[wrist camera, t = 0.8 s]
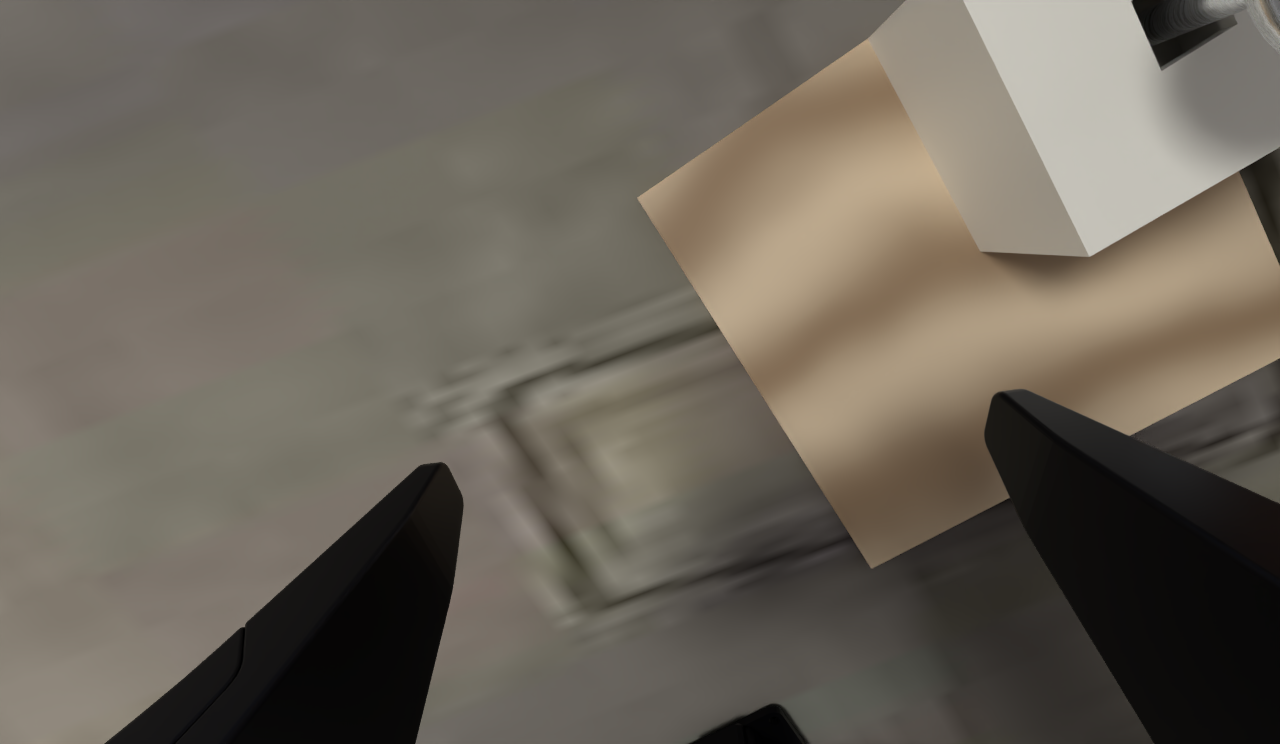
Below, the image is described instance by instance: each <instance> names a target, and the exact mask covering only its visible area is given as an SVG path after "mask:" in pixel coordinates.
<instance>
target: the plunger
mask: <svg viewBox="0 0 1280 744" xmlns="http://www.w3.org/2000/svg"><path fill="white" fill-rule="evenodd" d="M1246 9H1247V10H1248V13H1249V15H1250V17H1251V19H1252V21H1253V23H1254V25H1255V27H1256V28H1257V30H1258V31H1259V32H1260V34H1261V35H1262V36H1263V38H1264V39H1265V41H1266V42H1267V43H1268V44H1269V45H1271V46H1272V47H1273V48H1274V49H1275V50H1276V51H1277V52H1278V53H1279V54H1280V0H1164V1H1162V2H1160V3H1158V4H1156V5H1154V6H1152V7H1149V8H1147V9H1145V10H1144V11H1142V12H1141V13H1139V14H1138V15H1137V16H1138V19H1139V21H1140V23H1141V25H1142V28H1143V30H1144V32H1145V35H1146V37H1147V39H1148V41H1149V44H1150V46H1154V45H1157V44H1159V43H1162V42H1164V41H1167V40H1169V39H1172V38H1175V37H1177V36H1180V35H1182V34H1185V33H1187V32H1190V31H1192V30H1195V29H1197V28H1200V27H1202V26H1205V25H1208V24H1210V23H1213V22H1215V21H1218V20H1220V19H1223V18H1225V17H1228V16H1230V15H1233V14H1235V13H1238V12H1240V11H1243V10H1246Z"/></svg>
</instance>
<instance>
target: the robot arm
mask: <svg viewBox="0 0 1280 744" xmlns="http://www.w3.org/2000/svg"><path fill="white" fill-rule="evenodd" d="M984 439H985V443H986V446H987V449H988V451H989V453H990V455H991V457H992V460H993V462H994V464H995V466H996V468H997V471H998V473H999V475H1000V477H1001V479H1002V481H1003V484H1004V486H1005V488H1006V490H1007V492H1008V495H1009V497H1010V499H1011V501H1012V503H1013V505H1014V508H1015V510H1016V512H1017V514H1018V516H1019V518H1020V520H1021V522H1022V524H1023V526H1024V528H1025V530H1026V532H1027V534H1028V535H1029V537H1030V539H1031V541H1032V542H1033V544H1034V546H1035V547H1036V549H1037V551H1038V552H1039V554H1040V556H1041V557H1042V559H1043V561H1044V562H1045V564H1046V566H1047V567H1048V569H1049V571H1050V572H1051V574H1052V576H1053V577H1054V579H1055V580H1056V582H1057V584H1058V585H1059V587H1060V589H1061V590H1062V592H1063V594H1064V595H1065V597H1066V599H1067V600H1068V602H1069V604H1070V605H1071V607H1072V609H1073V610H1074V612H1075V613H1076V615H1077V617H1078V618H1079V620H1080V622H1081V623H1082V625H1083V627H1084V628H1085V630H1086V632H1087V633H1088V635H1089V637H1090V638H1091V640H1092V642H1093V643H1094V645H1095V646H1096V648H1097V650H1098V651H1099V653H1100V655H1101V656H1102V658H1103V660H1104V661H1105V663H1106V665H1107V666H1108V668H1109V670H1110V671H1111V673H1112V675H1113V676H1114V678H1115V679H1116V681H1117V683H1118V684H1119V686H1120V688H1121V689H1122V691H1123V693H1124V694H1125V696H1126V698H1127V699H1128V701H1129V703H1130V704H1131V706H1132V708H1133V709H1134V711H1135V712H1136V714H1137V716H1138V717H1139V719H1140V721H1141V722H1142V724H1143V726H1144V727H1145V729H1146V731H1147V732H1148V734H1149V736H1150V737H1151V739H1152V741H1153V742H1154V744H1280V504H1279V503H1277V502H1274V501H1272V500H1270V499H1268V498H1266V497H1263V496H1261V495H1259V494H1257V493H1255V492H1252V491H1250V490H1248V489H1246V488H1243V487H1241V486H1239V485H1237V484H1235V483H1232V482H1230V481H1228V480H1226V479H1224V478H1221V477H1219V476H1217V475H1215V474H1213V473H1210V472H1208V471H1206V470H1204V469H1201V468H1199V467H1197V466H1195V465H1193V464H1190V463H1188V462H1186V461H1184V460H1182V459H1179V458H1177V457H1175V456H1173V455H1170V454H1168V453H1166V452H1164V451H1162V450H1159V449H1157V448H1155V447H1153V446H1151V445H1148V444H1146V443H1144V442H1142V441H1139V440H1137V439H1135V438H1133V437H1131V436H1128V435H1126V434H1124V433H1122V432H1120V431H1117V430H1115V429H1113V428H1111V427H1108V426H1106V425H1104V424H1102V423H1100V422H1097V421H1095V420H1093V419H1091V418H1089V417H1086V416H1084V415H1082V414H1080V413H1078V412H1075V411H1073V410H1071V409H1069V408H1066V407H1064V406H1062V405H1060V404H1058V403H1055V402H1053V401H1051V400H1049V399H1047V398H1044V397H1042V396H1040V395H1038V394H1035V393H1033V392H1031V391H1029V390H1026V389H1013V390H1005V391H999V392H997V393H995V394H994V395H993V397H992V399H991V403H990V407H989V412H988V416H987V420H986V425H985V429H984ZM463 507H464V505H463V497H462V494H461V492H460V490H459V488H458V486H457V484H456V482H455V480H454V478H453V475H452V473H451V471H450V469H449V468H448V466H447V465H446V464H445V463H442V462H438V463H430V464H423V465H420V466H419V467H417V468H416V469H415V470H414V471H413V472H412V473H411V474H410V475H408V476H407V477H406V478H405V479H404V480H403V481H402V482H401V483H400V484H399V485H397V486H396V487H395V488H394V489H393V490H392V491H391V492H390V493H389V494H388V495H386V496H385V497H384V498H383V499H382V500H381V501H380V502H379V503H378V504H377V505H375V506H374V507H373V508H372V509H371V510H370V511H369V512H368V513H367V514H366V515H364V516H363V517H362V518H361V519H360V520H359V521H358V522H357V523H356V524H355V525H353V526H352V527H351V528H350V529H349V530H348V531H347V532H346V533H345V534H343V535H342V536H341V537H340V538H339V539H338V540H337V541H336V542H335V543H334V544H332V545H331V546H330V547H329V548H328V549H327V550H326V551H325V552H324V553H323V554H321V555H320V556H319V557H318V558H317V559H316V560H315V561H314V562H313V563H312V564H310V565H309V566H308V567H307V568H306V569H305V570H304V571H303V572H302V573H301V574H299V575H298V576H297V577H296V578H295V579H294V580H293V581H292V582H291V583H289V584H288V585H287V586H286V587H285V588H284V589H283V590H282V591H281V592H280V593H278V594H277V595H276V596H275V597H274V598H273V599H272V600H271V601H270V602H269V603H267V604H266V605H265V606H264V607H263V608H262V609H261V610H260V611H259V612H257V613H256V614H255V615H254V616H253V617H252V618H251V619H250V620H249V621H248V622H247V623H246V624H245V627H242V628H240V629H239V630H237V631H236V632H235V633H234V634H233V635H232V636H231V637H230V638H229V639H228V640H227V641H225V642H224V643H223V644H222V645H221V646H220V647H219V648H218V649H217V650H215V651H214V652H213V653H212V654H211V655H210V656H209V657H207V658H206V659H205V660H204V661H203V662H202V663H201V664H200V665H198V666H197V667H196V668H195V669H194V670H193V671H192V672H190V673H189V674H188V675H187V676H186V677H185V678H184V679H182V680H181V681H180V682H179V683H178V684H176V685H175V686H174V687H173V688H172V689H170V690H169V691H168V692H167V693H166V694H164V695H163V696H162V697H161V698H160V699H158V700H157V701H156V702H155V703H154V704H152V705H151V706H150V707H149V708H148V709H146V710H145V711H144V712H143V713H142V714H140V715H139V716H138V717H137V718H135V719H134V720H133V721H132V722H131V723H129V724H128V725H127V726H126V727H124V728H123V729H122V730H121V731H119V732H118V733H117V734H116V735H115V736H113V737H112V738H111V739H110V740H108V741H107V742H106V743H105V744H415V743H416V739H417V734H418V730H419V726H420V722H421V718H422V714H423V710H424V706H425V702H426V698H427V694H428V689H429V685H430V681H431V677H432V673H433V669H434V665H435V661H436V657H437V653H438V649H439V645H440V640H441V636H442V632H443V628H444V624H445V620H446V616H447V612H448V608H449V604H450V599H451V595H452V590H453V584H454V578H455V570H456V562H457V555H458V547H459V539H460V531H461V524H462V516H463ZM771 717H776V718H774V719H772V718H771ZM692 744H805V742H804V741H803V739H802V738H801V737H800V735H799V734H798V732H797V731H796V729H795V728H794V727H793V725H792V724H791V722H790V721H789V719H788V718H787V717H786V715H785V714H784V712H783V711H782V710H781V709H780V708H779V707H777V706H769V707H766V708H764V709H762V710H760V711H758V712H756V713H754V714H752V715H750V716H748V717H746V718H744V719H742V720H740V721H738V722H735V723H733V724H731V725H729V726H727V727H725V728H723V729H721V730H719V731H717V732H715V733H713V734H711V735H709V736H707V737H705V738H703V739H701V740H699V741H697V742H694V743H692Z"/></svg>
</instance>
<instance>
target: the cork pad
mask: <svg viewBox="0 0 1280 744" xmlns="http://www.w3.org/2000/svg"><path fill="white" fill-rule="evenodd" d="M637 199H638V200H639V202H640V203H641V205H642V206H643V208H644V210H645V211H646V213H647V214H648V216H649V218H650V219H651V221H652V222H653V224H654V225H655V227H656V229H657V230H658V232H659V233H660V235H661V237H662V238H663V240H664V241H665V243H666V244H667V246H668V248H669V249H670V251H671V252H672V254H673V256H674V257H675V259H676V260H677V262H678V263H679V265H680V267H681V268H682V270H683V271H684V273H685V275H686V276H687V278H688V279H689V281H690V282H691V284H692V286H693V287H694V289H695V290H696V292H697V294H698V295H699V297H700V298H701V300H702V301H703V303H704V305H705V306H706V308H707V309H708V311H709V313H710V314H711V316H712V317H713V319H714V320H715V322H716V324H717V325H718V327H719V328H720V330H721V332H722V333H723V335H724V336H725V338H726V339H727V341H728V343H729V344H730V346H731V347H732V349H733V351H734V352H735V354H736V355H737V357H738V358H739V360H740V362H741V363H742V365H743V366H744V368H745V370H746V371H747V373H748V374H749V376H750V377H751V379H752V381H753V382H754V384H755V385H756V387H757V389H758V390H759V392H760V393H761V395H762V396H763V398H764V400H765V401H766V403H767V404H768V406H769V408H770V409H771V411H772V412H773V414H774V415H775V417H776V419H777V420H778V422H779V423H780V425H781V426H782V428H783V430H784V431H785V433H786V434H787V436H788V438H789V439H790V441H791V442H792V444H793V445H794V447H795V449H796V450H797V452H798V453H799V455H800V457H801V458H802V460H803V461H804V463H805V464H806V466H807V468H808V469H809V471H810V472H811V474H812V476H813V477H814V479H815V480H816V482H817V483H818V485H819V487H820V488H821V490H822V491H823V493H824V495H825V496H826V498H827V499H828V501H829V502H830V504H831V506H832V507H833V509H834V510H835V512H836V514H837V515H838V517H839V518H840V520H841V521H842V523H843V525H844V526H845V528H846V529H847V531H848V533H849V534H850V536H851V537H852V539H853V540H854V542H855V544H856V545H857V547H858V548H859V550H860V552H861V553H862V555H863V556H864V558H865V559H866V561H867V563H868V564H869V566H870V567H871V569H873V568H874V567H876V566H878V565H880V564H882V563H884V562H886V561H888V560H890V559H892V558H894V557H896V556H898V555H900V554H902V553H904V552H905V551H907V550H909V549H911V548H913V547H915V546H917V545H919V544H921V543H923V542H925V541H927V540H929V539H931V538H933V537H934V536H936V535H938V534H940V533H942V532H944V531H946V530H948V529H950V528H952V527H954V526H956V525H958V524H960V523H962V522H964V521H965V520H967V519H969V518H971V517H973V516H975V515H977V514H979V513H981V512H983V511H985V510H987V509H989V508H991V507H993V506H995V505H996V504H998V503H1000V502H1002V501H1004V500H1006V499H1008V498H1010V497H1009V495H1008V492H1007V490H1006V488H1005V486H1004V484H1003V481H1002V479H1001V477H1000V475H999V473H998V471H997V468H996V466H995V464H994V462H993V460H992V457H991V455H990V453H989V451H988V449H987V446H986V443H985V439H984V429H985V425H986V420H987V416H988V412H989V407H990V403H991V399H992V397H993V395H994V394H995V393H997V392H999V391H1005V390H1013V389H1026V390H1029V391H1031V392H1033V393H1035V394H1038V395H1040V396H1042V397H1044V398H1047V399H1049V400H1051V401H1053V402H1055V403H1058V404H1060V405H1062V406H1064V407H1066V408H1069V409H1071V410H1073V411H1075V412H1078V413H1080V414H1082V415H1084V416H1086V417H1089V418H1091V419H1093V420H1095V421H1097V422H1100V423H1102V424H1104V425H1106V426H1108V427H1111V428H1113V429H1115V430H1117V431H1120V432H1122V433H1124V434H1126V435H1128V436H1130V435H1132V434H1134V433H1136V432H1138V431H1140V430H1142V429H1144V428H1146V427H1147V426H1149V425H1151V424H1153V423H1155V422H1157V421H1159V420H1161V419H1163V418H1165V417H1167V416H1169V415H1171V414H1173V413H1175V412H1177V411H1178V410H1180V409H1182V408H1184V407H1186V406H1188V405H1190V404H1192V403H1194V402H1196V401H1198V400H1200V399H1202V398H1204V397H1206V396H1208V395H1209V394H1211V393H1213V392H1215V391H1217V390H1219V389H1221V388H1223V387H1225V386H1227V385H1229V384H1231V383H1233V382H1235V381H1237V380H1238V379H1240V378H1242V377H1244V376H1246V375H1248V374H1250V373H1252V372H1254V371H1256V370H1258V369H1260V368H1262V367H1264V366H1266V365H1268V364H1269V363H1271V362H1273V361H1275V360H1277V359H1279V358H1280V266H1279V263H1278V261H1277V259H1276V256H1275V254H1274V252H1273V249H1272V247H1271V245H1270V243H1269V240H1268V238H1267V236H1266V233H1265V231H1264V229H1263V226H1262V224H1261V222H1260V219H1259V217H1258V215H1257V212H1256V210H1255V208H1254V205H1253V203H1252V201H1251V198H1250V196H1249V194H1248V191H1247V189H1246V187H1245V184H1244V182H1243V180H1242V177H1241V175H1240V173H1239V171H1238V172H1236V173H1234V174H1232V175H1231V176H1229V177H1227V178H1226V179H1224V180H1222V181H1220V182H1219V183H1217V184H1215V185H1213V186H1212V187H1210V188H1208V189H1206V190H1205V191H1203V192H1201V193H1200V194H1198V195H1196V196H1194V197H1193V198H1191V199H1189V200H1187V201H1186V202H1184V203H1182V204H1180V205H1179V206H1177V207H1175V208H1174V209H1172V210H1170V211H1168V212H1167V213H1165V214H1163V215H1161V216H1160V217H1158V218H1156V219H1154V220H1153V221H1151V222H1149V223H1148V224H1146V225H1144V226H1142V227H1141V228H1139V229H1137V230H1135V231H1134V232H1132V233H1130V234H1128V235H1127V236H1125V237H1123V238H1122V239H1120V240H1118V241H1116V242H1115V243H1113V244H1111V245H1109V246H1108V247H1106V248H1104V249H1103V250H1101V251H1099V252H1097V253H1096V254H1094V255H1092V256H1090V257H1080V256H1060V255H1040V254H1020V253H1001V252H981V251H980V250H979V249H978V247H977V245H976V243H975V241H974V239H973V237H972V235H971V233H970V231H969V230H968V228H967V226H966V224H965V222H964V220H963V218H962V216H961V214H960V213H959V211H958V209H957V207H956V205H955V203H954V201H953V199H952V197H951V196H950V194H949V192H948V190H947V188H946V186H945V184H944V182H943V180H942V178H941V177H940V175H939V173H938V171H937V169H936V167H935V165H934V163H933V161H932V160H931V158H930V156H929V154H928V152H927V150H926V148H925V146H924V144H923V143H922V141H921V139H920V137H919V135H918V133H917V131H916V129H915V127H914V126H913V124H912V122H911V120H910V118H909V116H908V114H907V112H906V110H905V108H904V107H903V105H902V103H901V101H900V99H899V97H898V95H897V93H896V91H895V90H894V88H893V86H892V84H891V82H890V80H889V78H888V76H887V74H886V73H885V71H884V69H883V67H882V65H881V63H880V61H879V59H878V57H877V55H876V54H875V52H874V50H873V48H872V46H871V44H870V42H869V40H868V39H867V40H865V41H864V42H862V43H861V44H860V45H858V46H857V47H855V48H854V49H852V50H851V51H849V52H848V53H846V54H845V55H844V56H842V57H841V58H839V59H838V60H836V61H835V62H833V63H832V64H831V65H829V66H828V67H826V68H825V69H823V70H822V71H820V72H819V73H818V74H816V75H815V76H813V77H812V78H810V79H809V80H807V81H806V82H804V83H803V84H802V85H800V86H799V87H797V88H796V89H794V90H793V91H791V92H790V93H789V94H787V95H786V96H784V97H783V98H781V99H780V100H778V101H777V102H776V103H774V104H773V105H771V106H770V107H768V108H767V109H765V110H764V111H762V112H761V113H760V114H758V115H757V116H755V117H754V118H752V119H751V120H749V121H748V122H747V123H745V124H744V125H742V126H741V127H739V128H738V129H736V130H735V131H734V132H732V133H731V134H729V135H728V136H726V137H725V138H723V139H722V140H720V141H719V142H718V143H716V144H715V145H713V146H712V147H710V148H709V149H707V150H706V151H705V152H703V153H702V154H700V155H699V156H697V157H696V158H694V159H693V160H692V161H690V162H689V163H687V164H686V165H684V166H683V167H681V168H680V169H678V170H677V171H676V172H674V173H673V174H671V175H670V176H668V177H667V178H665V179H664V180H663V181H661V182H660V183H658V184H657V185H655V186H654V187H652V188H651V189H650V190H648V191H647V192H645V193H644V194H642V195H641V196H639V197H638V198H637Z"/></svg>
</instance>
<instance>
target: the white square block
mask: <svg viewBox="0 0 1280 744" xmlns="http://www.w3.org/2000/svg"><path fill="white" fill-rule="evenodd" d="M1162 1H1164V0H906V1H905V2H904V3H903V4H902V5H901V6H900V7H899V8H898V9H897V10H896V11H895V12H894V13H893V14H892V15H891V16H890V17H889V18H888V19H887V20H886V21H885V22H884V23H883V24H882V25H881V26H880V27H879V28H878V29H877V30H876V31H875V32H874V33H873V34H872V35H871V36H870V37H869V38H868V40H869V42H870V44H871V46H872V48H873V50H874V52H875V54H876V55H877V57H878V59H879V61H880V63H881V65H882V67H883V69H884V71H885V73H886V74H887V76H888V78H889V80H890V82H891V84H892V86H893V88H894V90H895V91H896V93H897V95H898V97H899V99H900V101H901V103H902V105H903V107H904V108H905V110H906V112H907V114H908V116H909V118H910V120H911V122H912V124H913V126H914V127H915V129H916V131H917V133H918V135H919V137H920V139H921V141H922V143H923V144H924V146H925V148H926V150H927V152H928V154H929V156H930V158H931V160H932V161H933V163H934V165H935V167H936V169H937V171H938V173H939V175H940V177H941V178H942V180H943V182H944V184H945V186H946V188H947V190H948V192H949V194H950V196H951V197H952V199H953V201H954V203H955V205H956V207H957V209H958V211H959V213H960V214H961V216H962V218H963V220H964V222H965V224H966V226H967V228H968V230H969V231H970V233H971V235H972V237H973V239H974V241H975V243H976V245H977V247H978V249H979V250H980V251H981V252H1001V253H1020V254H1040V255H1060V256H1080V257H1090V256H1092V255H1094V254H1096V253H1097V252H1099V251H1101V250H1103V249H1104V248H1106V247H1108V246H1109V245H1111V244H1113V243H1115V242H1116V241H1118V240H1120V239H1122V238H1123V237H1125V236H1127V235H1128V234H1130V233H1132V232H1134V231H1135V230H1137V229H1139V228H1141V227H1142V226H1144V225H1146V224H1148V223H1149V222H1151V221H1153V220H1154V219H1156V218H1158V217H1160V216H1161V215H1163V214H1165V213H1167V212H1168V211H1170V210H1172V209H1174V208H1175V207H1177V206H1179V205H1180V204H1182V203H1184V202H1186V201H1187V200H1189V199H1191V198H1193V197H1194V196H1196V195H1198V194H1200V193H1201V192H1203V191H1205V190H1206V189H1208V188H1210V187H1212V186H1213V185H1215V184H1217V183H1219V182H1220V181H1222V180H1224V179H1226V178H1227V177H1229V176H1231V175H1232V174H1234V173H1236V172H1238V171H1239V170H1241V169H1243V168H1245V167H1246V166H1248V165H1250V164H1251V163H1253V162H1255V161H1257V160H1258V159H1260V158H1262V157H1264V156H1265V155H1267V154H1269V153H1271V152H1272V151H1274V150H1276V149H1277V148H1279V147H1280V54H1279V53H1278V52H1277V51H1276V50H1275V49H1274V48H1273V47H1272V46H1271V45H1269V44H1268V43H1267V42H1266V41H1265V39H1264V38H1263V36H1262V35H1261V34H1260V32H1259V31H1258V30H1257V28H1256V27H1255V25H1254V23H1253V21H1252V19H1251V17H1250V15H1249V13H1248V10H1247V9H1246V10H1243V11H1240V12H1238V13H1235V14H1233V15H1230V16H1228V17H1225V18H1223V19H1220V20H1218V21H1215V22H1213V23H1210V24H1208V25H1205V26H1202V27H1200V28H1197V29H1195V30H1192V31H1190V32H1187V33H1185V34H1182V35H1180V36H1177V37H1175V38H1172V39H1169V40H1167V41H1164V42H1162V43H1159V44H1157V45H1154V46H1150V44H1149V41H1148V39H1147V37H1146V35H1145V32H1144V30H1143V28H1142V25H1141V23H1140V21H1139V19H1138V16H1137V15H1138V14H1139V13H1141V12H1142V11H1144V10H1145V9H1147V8H1149V7H1152V6H1154V5H1156V4H1158V3H1160V2H1162Z"/></svg>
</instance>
